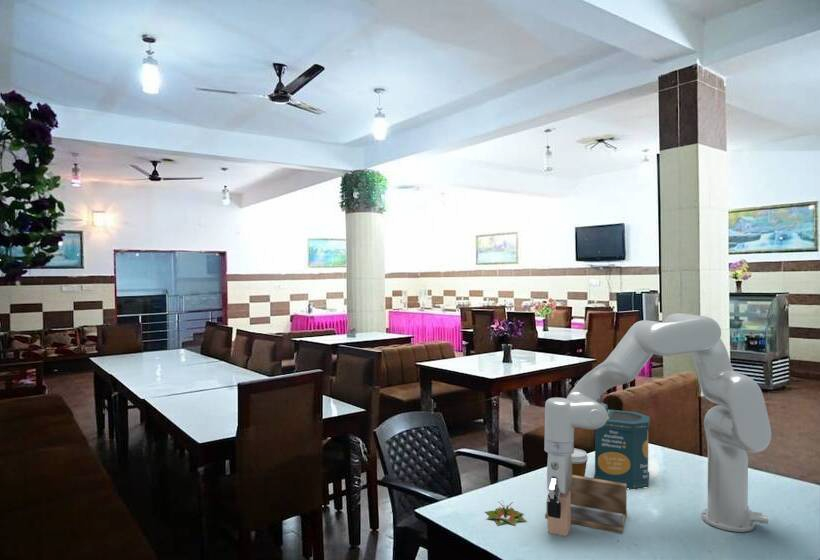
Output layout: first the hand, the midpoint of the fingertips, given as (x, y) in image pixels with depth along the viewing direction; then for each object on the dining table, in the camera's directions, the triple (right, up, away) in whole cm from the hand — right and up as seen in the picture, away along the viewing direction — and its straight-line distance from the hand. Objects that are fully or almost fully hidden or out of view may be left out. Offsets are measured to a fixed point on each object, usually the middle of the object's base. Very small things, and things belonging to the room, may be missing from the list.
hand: (558, 509), depth 143 cm
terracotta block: (0, -6, 0) cm, 6 cm away
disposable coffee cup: (+12, -5, +27) cm, 30 cm away
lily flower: (-13, -6, +8) cm, 16 cm away
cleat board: (+10, -5, +8) cm, 14 cm away
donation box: (+31, -5, +36) cm, 48 cm away
